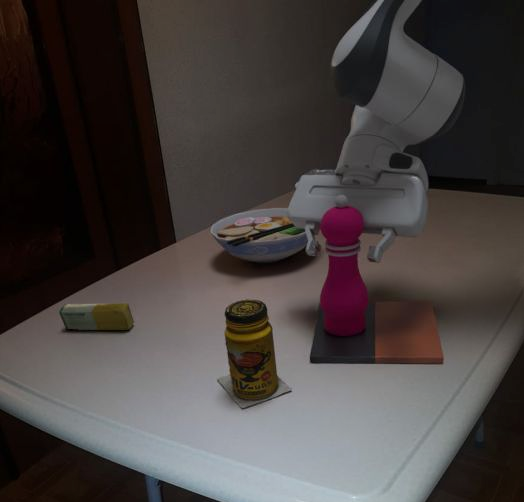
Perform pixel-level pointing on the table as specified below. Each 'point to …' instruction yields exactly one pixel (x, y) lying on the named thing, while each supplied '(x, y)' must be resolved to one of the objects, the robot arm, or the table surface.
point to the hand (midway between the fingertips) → (341, 257)
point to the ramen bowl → (260, 235)
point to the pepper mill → (343, 271)
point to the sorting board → (383, 336)
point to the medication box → (97, 316)
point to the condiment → (250, 354)
